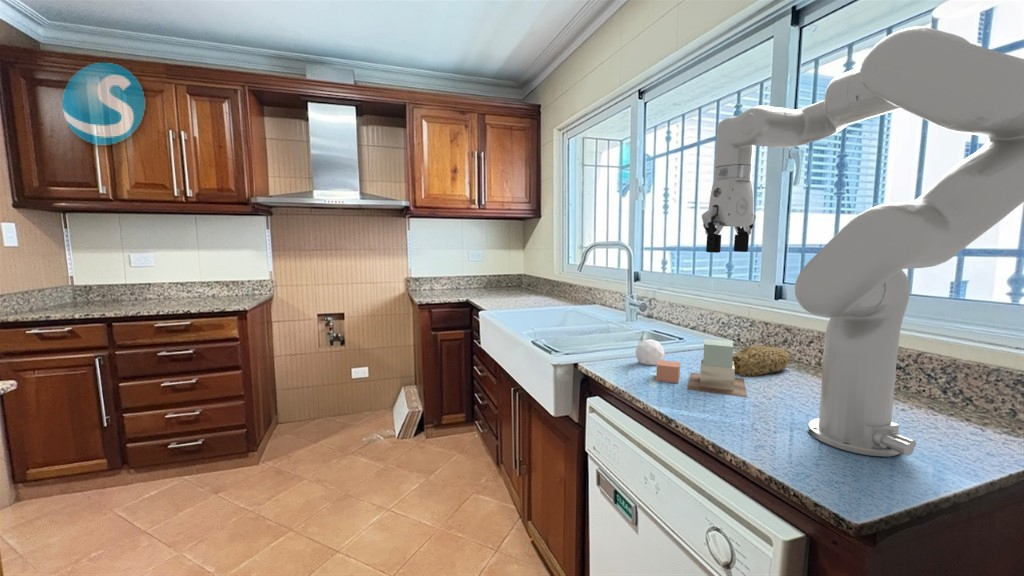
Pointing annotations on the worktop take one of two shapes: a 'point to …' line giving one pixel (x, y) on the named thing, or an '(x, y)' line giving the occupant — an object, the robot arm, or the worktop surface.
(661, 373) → the terracotta block
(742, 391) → the walnut board
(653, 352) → the ball
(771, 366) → the sponge
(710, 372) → the tower base block
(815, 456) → the worktop surface
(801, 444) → the worktop surface
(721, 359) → the tower middle block
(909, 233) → the robot arm
